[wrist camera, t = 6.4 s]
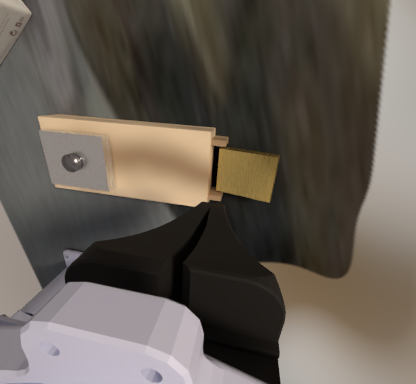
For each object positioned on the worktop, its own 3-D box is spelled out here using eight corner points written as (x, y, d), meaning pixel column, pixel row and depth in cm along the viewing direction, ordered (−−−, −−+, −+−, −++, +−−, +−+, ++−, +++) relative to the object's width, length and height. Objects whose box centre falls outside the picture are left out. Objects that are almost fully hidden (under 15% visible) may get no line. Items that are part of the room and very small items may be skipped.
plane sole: (222, 198, 22) (219, 210, 20) (73, 178, 25) (55, 187, 23) (229, 128, 20) (226, 133, 17) (59, 114, 22) (37, 116, 20)
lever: (219, 186, 21) (271, 198, 20) (216, 190, 20) (269, 202, 19) (223, 146, 20) (280, 155, 18) (219, 148, 19) (278, 157, 17)
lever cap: (115, 187, 21) (105, 193, 20) (60, 179, 22) (46, 185, 20) (108, 134, 19) (96, 137, 17) (48, 128, 20) (32, 131, 18)
